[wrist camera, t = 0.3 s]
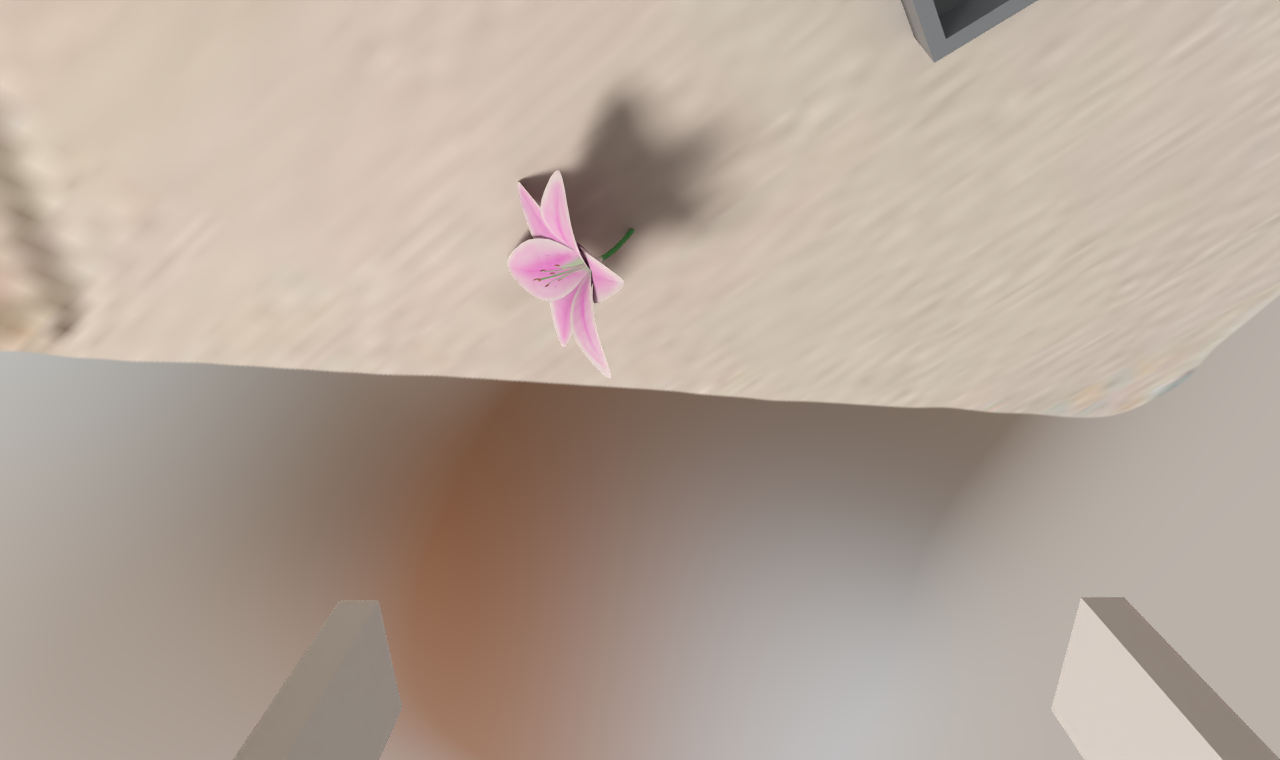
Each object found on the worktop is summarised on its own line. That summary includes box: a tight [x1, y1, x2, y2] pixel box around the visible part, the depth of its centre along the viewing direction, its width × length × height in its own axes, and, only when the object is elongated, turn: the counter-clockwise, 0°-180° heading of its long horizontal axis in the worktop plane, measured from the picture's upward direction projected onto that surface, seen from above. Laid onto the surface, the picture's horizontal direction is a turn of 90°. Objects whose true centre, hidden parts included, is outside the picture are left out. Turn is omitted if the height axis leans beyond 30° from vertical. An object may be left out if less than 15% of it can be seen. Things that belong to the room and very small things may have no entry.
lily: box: [508, 171, 634, 379], centre depth 41 cm, size 12×12×10 cm
